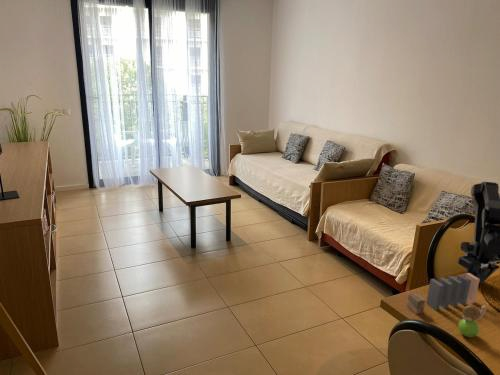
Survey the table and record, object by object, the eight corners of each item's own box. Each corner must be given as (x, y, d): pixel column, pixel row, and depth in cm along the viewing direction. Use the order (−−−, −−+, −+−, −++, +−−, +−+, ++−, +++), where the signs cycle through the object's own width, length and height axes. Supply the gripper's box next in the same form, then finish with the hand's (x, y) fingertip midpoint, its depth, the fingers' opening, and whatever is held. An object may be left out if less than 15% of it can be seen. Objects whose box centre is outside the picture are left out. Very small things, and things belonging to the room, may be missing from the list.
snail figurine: (483, 342, 113) (491, 308, 109) (460, 339, 114) (467, 305, 110) (476, 331, 118) (484, 298, 114) (454, 328, 119) (461, 295, 115)
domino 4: (455, 297, 135) (460, 274, 132) (465, 304, 131) (470, 280, 128) (452, 298, 135) (457, 274, 132) (462, 305, 131) (467, 281, 128)
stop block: (414, 305, 130) (416, 292, 129) (423, 312, 126) (425, 300, 125) (406, 306, 130) (408, 294, 128) (415, 314, 126) (417, 301, 124)
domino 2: (438, 300, 133) (443, 277, 130) (447, 308, 129) (452, 283, 126) (435, 301, 133) (439, 277, 130) (444, 308, 129) (449, 284, 126)
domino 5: (464, 296, 136) (469, 272, 133) (474, 303, 132) (479, 279, 129) (461, 296, 136) (466, 273, 133) (471, 303, 132) (476, 279, 129)
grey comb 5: (429, 302, 132) (433, 278, 129) (438, 309, 128) (443, 285, 125) (426, 303, 132) (430, 279, 129) (435, 310, 128) (440, 286, 125)
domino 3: (447, 299, 134) (451, 275, 131) (456, 306, 130) (461, 282, 127) (444, 299, 134) (448, 276, 131) (453, 307, 130) (458, 282, 127)
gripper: (490, 229, 139) (482, 267, 143) (449, 235, 133) (442, 274, 138) (519, 242, 128) (509, 282, 133) (476, 249, 123) (467, 290, 128)
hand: (481, 281), depth 133 cm, fingers closed
